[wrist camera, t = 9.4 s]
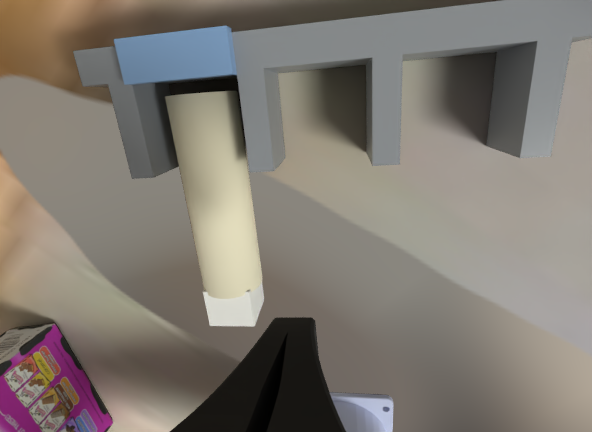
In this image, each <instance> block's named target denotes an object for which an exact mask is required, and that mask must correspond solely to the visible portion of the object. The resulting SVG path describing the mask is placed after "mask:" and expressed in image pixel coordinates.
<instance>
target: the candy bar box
mask: <svg viewBox="0 0 592 432" xmlns="http://www.w3.org/2000/svg"><path fill="white" fill-rule="evenodd" d="M112 424H113V421H112V418H111V416H110V415H109V413H108V411H107V410H106V408H105V406H104V404H103V403H102V401H101V399H100V398H99V396H98V394H97V393H96V391H95V389H94V387H93V386H92V384H91V382H90V381H89V379H88V377H87V376H86V374H85V372H84V371H83V369H82V367H81V366H80V364H79V362H78V361H77V359H76V357H75V356H74V354H73V352H72V351H71V349H70V347H69V346H68V344H67V342H66V341H65V339H64V337H63V336H62V334H61V332H60V331H59V329H58V327H57V325H56V324H55V323H50V324H42V325H38V326H28V327H19V328H14V329H10V330H8V331H6V332H5V333H3V334H2V335H0V432H107V431H108V429H109V428H110V427H111V425H112Z"/></svg>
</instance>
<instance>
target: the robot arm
mask: <svg viewBox="0 0 592 432" xmlns="http://www.w3.org/2000/svg"><path fill="white" fill-rule="evenodd" d="M315 326H316V325H315V320H314V319H313V318H275V319H274V320H273V321H272V322H271V324H270V325H269V327H268V328H267V330H266V331H265V332H264V333H263V335H262V336H261V338H260V339H259V340H258V341H257V343H256V344H255V345H254V347H253V348H252V349H251V350H250V352H249V353H248V354H247V355H246V357H245V358H244V359H243V360H242V362H241V363H240V364H239V365H238V366H237V367H236V369H235V370H234V371H233V372H232V373H231V374H230V375H229V376H228V377H227V379H226V380H225V381H224V382H223V383H222V384H221V385H220V386H219V387H218V388H217V389H216V390H215V391H214V392H213V393H212V394H211V395H210V396H209V397H208V398H207V399H206V400H205V401H204V402H203V403H202V404H201V405H200V406H199V407H198V408H197V409H196V410H195V411H194V412H193V413H191V414H190V415H189V416H188V417H187V418H186V419H184V420H183V421H182V422H181V423H180V424H178V425H177V426H176V427H175V428H174V429H172V430H171V431H170V432H392V430H393V429H392V428H393V400H392V398H391V397H390V396H388V395H379V394H357V393H334V392H329V390H328V387H327V384H326V381H325V378H324V375H323V372H322V369H321V365H320V361H319V356H318V346H317V336H316V327H315Z"/></svg>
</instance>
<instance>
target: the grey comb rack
mask: <svg viewBox="0 0 592 432" xmlns="http://www.w3.org/2000/svg"><path fill="white" fill-rule="evenodd" d="M589 38H592V0H501V1H493V2H484V3H476V4H467V5H459V6H450V7H442V8H433V9H425V10H417V11H408V12H400V13H391V14H383V15H374V16H366V17H357V18H349V19H340V20H332V21H323V22H315V23H306V24H298V25H289V26H281V27H272V28H264V29H255V30H247V31H238V32H231V28H230V27H228V26H218V27H210V28H202V29H193V30H185V31H177V32H169V33H160V34H152V35H144V36H136V37H127V38H119V39H114V43H115V46H111V47H103V48H94V49H86V50H77V51H73V53H74V57H75V60H76V64H77V68H78V71H79V75H80V78H81V82H82V85H83V86H86V87H109V90H110V94H111V98H112V102H113V106H114V110H115V114H116V118H117V122H118V125H119V130H120V133H121V137H122V141H123V145H124V149H125V153H126V157H127V161H128V165H129V169H130V173H131V177H132V179H134V178H153V177H156V176H158V175H160V174H163V173H165V172H167V171H169V170H171V169H174V168H176V167H178V166H179V164H178V159H177V154H176V149H175V144H174V139H173V134H172V130H171V125H170V120H169V115H168V110H167V105H166V100H165V97H166V96H171V93H170V88H169V84H172V83H182V82H192V81H203V80H213V79H223V78H234V77H237V79H238V86H239V94H240V102H241V109H242V117H243V125H244V132H245V140H246V148H247V155H248V163H249V170H250V172H266V171H275V169H276V168H277V167H278V166H279V165H280V164H281V162H282V161H283V160H284V159H285V148H284V137H283V126H282V115H281V104H280V93H279V82H278V73H285V72H295V71H306V70H316V69H326V68H337V67H347V66H357V65H366V124H367V155H368V157H369V159H370V161H371V164H372V166H379V165H397V164H400V134H401V97H402V61H409V60H419V59H429V58H440V57H450V56H460V55H470V54H481V53H491V52H497V56H496V65H495V74H494V82H493V91H492V100H491V109H490V117H489V126H488V135H487V143H486V146H488V147H490V148H493V149H496V150H499V151H502V152H505V153H507V154H510V155H513V156H516V157H519V158H529V157H548V156H551V152H552V147H553V141H554V136H555V130H556V125H557V119H558V114H559V108H560V103H561V97H562V92H563V86H564V81H565V75H566V70H567V64H568V59H569V54H570V48H571V43H572V42H576V41H580V40H585V39H589Z"/></svg>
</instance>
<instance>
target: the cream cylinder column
mask: <svg viewBox="0 0 592 432" xmlns="http://www.w3.org/2000/svg"><path fill="white" fill-rule="evenodd" d="M165 100H166V105H167V110H168V115H169V120H170V125H171V130H172V134H173V139H174V144H175V149H176V154H177V159H178V164H179V169H180V174H181V178H182V184H183V188H184V193H185V198H186V203H187V208H188V213H189V218H190V223H191V227H192V233H193V237H194V242H195V247H196V252H197V257H198V262H199V267H200V272H201V277H202V282H203V286H204V291H203V294H204V299H205V304H206V309H207V314H208V318H209V323H210V326H255V324H256V321H257V318H258V315H259V312H260V310H261V306H262V304H263V301H264V294H263V286H262V271H261V264H260V256H259V249H258V241H257V234H256V226H255V218H254V210H253V203H252V196H251V188H250V180H249V173H248V165H247V157H246V150H245V142H244V135H243V127H242V120H241V112H240V104H239V97H238V91H219V92H205V93H192V94H181V95H172V96H166V97H165Z"/></svg>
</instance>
